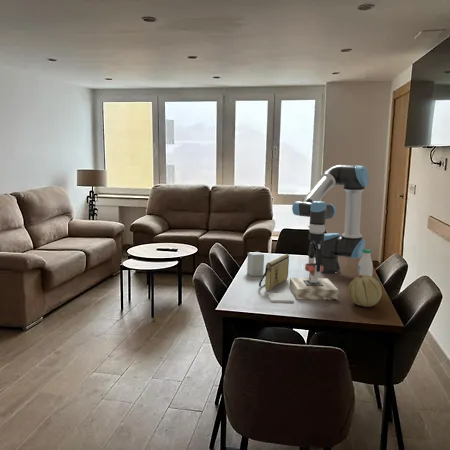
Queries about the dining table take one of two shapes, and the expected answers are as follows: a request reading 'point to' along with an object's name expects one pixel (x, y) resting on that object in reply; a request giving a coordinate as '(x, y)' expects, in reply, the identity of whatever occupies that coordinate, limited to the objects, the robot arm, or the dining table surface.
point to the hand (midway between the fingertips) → (313, 274)
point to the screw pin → (312, 272)
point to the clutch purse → (276, 272)
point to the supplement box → (255, 264)
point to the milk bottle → (365, 263)
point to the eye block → (313, 289)
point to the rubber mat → (280, 297)
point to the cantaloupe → (365, 291)
